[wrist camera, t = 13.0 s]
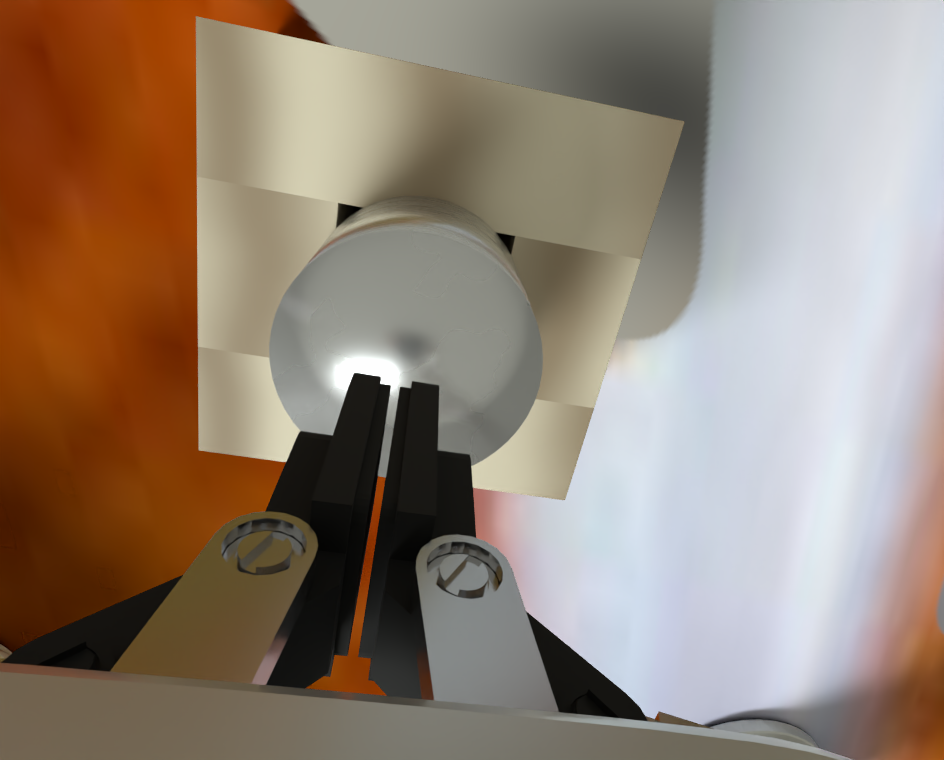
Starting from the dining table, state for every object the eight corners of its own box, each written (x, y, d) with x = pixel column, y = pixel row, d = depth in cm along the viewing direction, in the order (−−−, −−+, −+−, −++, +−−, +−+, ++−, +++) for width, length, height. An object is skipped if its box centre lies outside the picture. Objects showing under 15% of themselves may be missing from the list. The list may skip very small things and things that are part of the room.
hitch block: (616, 111, 25) (684, 121, 18) (538, 404, 31) (564, 500, 24) (273, 38, 23) (196, 16, 16) (260, 361, 29) (198, 450, 22)
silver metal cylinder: (520, 185, 25) (573, 259, 14) (486, 338, 28) (510, 494, 17) (352, 152, 24) (275, 204, 14) (336, 313, 27) (263, 460, 17)
